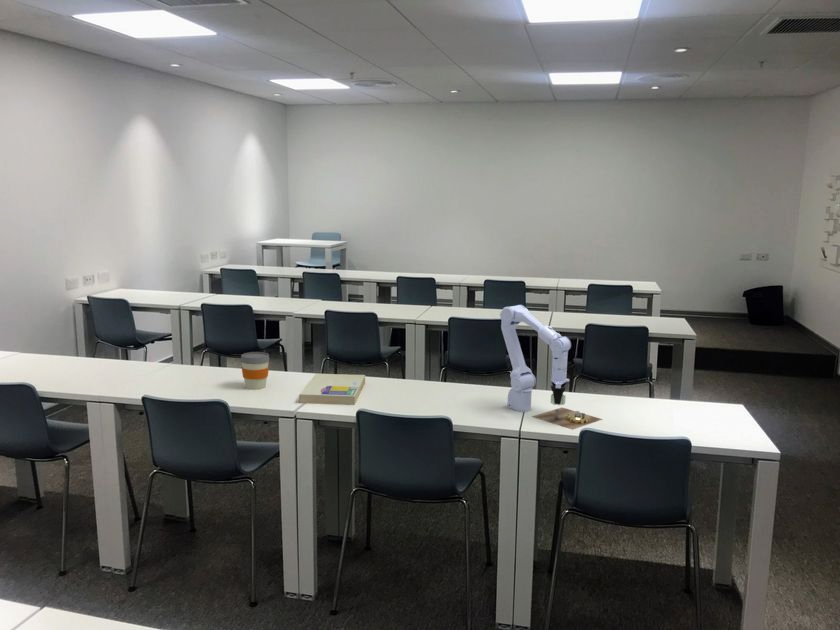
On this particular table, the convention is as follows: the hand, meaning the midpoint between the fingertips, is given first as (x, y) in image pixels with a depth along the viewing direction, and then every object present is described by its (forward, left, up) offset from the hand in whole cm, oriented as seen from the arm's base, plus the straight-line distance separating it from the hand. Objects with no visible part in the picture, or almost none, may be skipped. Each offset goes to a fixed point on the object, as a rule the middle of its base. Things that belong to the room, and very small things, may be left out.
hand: (557, 401), depth 269 cm
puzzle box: (-87, -47, -9) cm, 99 cm away
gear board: (+2, +4, -8) cm, 9 cm away
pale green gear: (0, 0, -1) cm, 1 cm away
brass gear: (+6, +5, -7) cm, 11 cm away
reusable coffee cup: (-116, -70, -8) cm, 136 cm away
